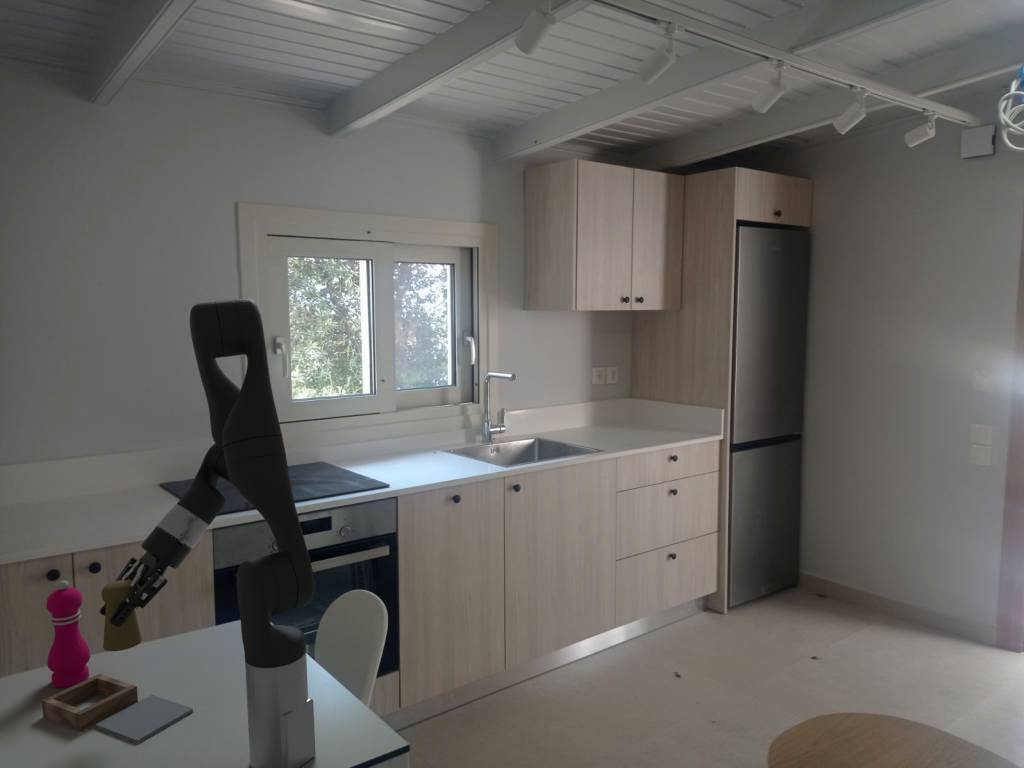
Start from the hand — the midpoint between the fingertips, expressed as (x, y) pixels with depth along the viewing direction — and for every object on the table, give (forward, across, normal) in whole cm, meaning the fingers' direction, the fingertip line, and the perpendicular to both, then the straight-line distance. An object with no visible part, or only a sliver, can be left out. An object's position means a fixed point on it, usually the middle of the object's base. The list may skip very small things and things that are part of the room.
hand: (108, 619), depth 129 cm
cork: (+2, 0, +5) cm, 6 cm away
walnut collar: (+14, -8, +12) cm, 20 cm away
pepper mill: (+14, -23, +12) cm, 30 cm away
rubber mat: (+10, +3, +16) cm, 19 cm away
